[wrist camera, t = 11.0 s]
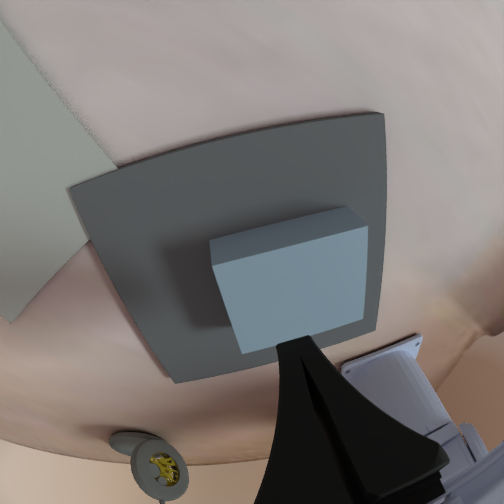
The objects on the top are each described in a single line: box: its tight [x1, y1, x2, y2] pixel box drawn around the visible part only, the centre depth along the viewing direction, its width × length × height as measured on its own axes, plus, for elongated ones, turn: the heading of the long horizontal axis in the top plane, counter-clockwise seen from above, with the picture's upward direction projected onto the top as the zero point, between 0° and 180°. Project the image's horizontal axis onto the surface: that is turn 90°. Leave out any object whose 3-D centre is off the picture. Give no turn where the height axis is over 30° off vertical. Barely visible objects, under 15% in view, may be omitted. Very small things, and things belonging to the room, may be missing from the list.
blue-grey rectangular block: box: [209, 206, 368, 354], centre depth 15 cm, size 6×2×7 cm
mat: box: [69, 112, 387, 384], centre depth 16 cm, size 15×15×1 cm
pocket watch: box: [109, 432, 189, 504], centre depth 22 cm, size 8×8×10 cm
